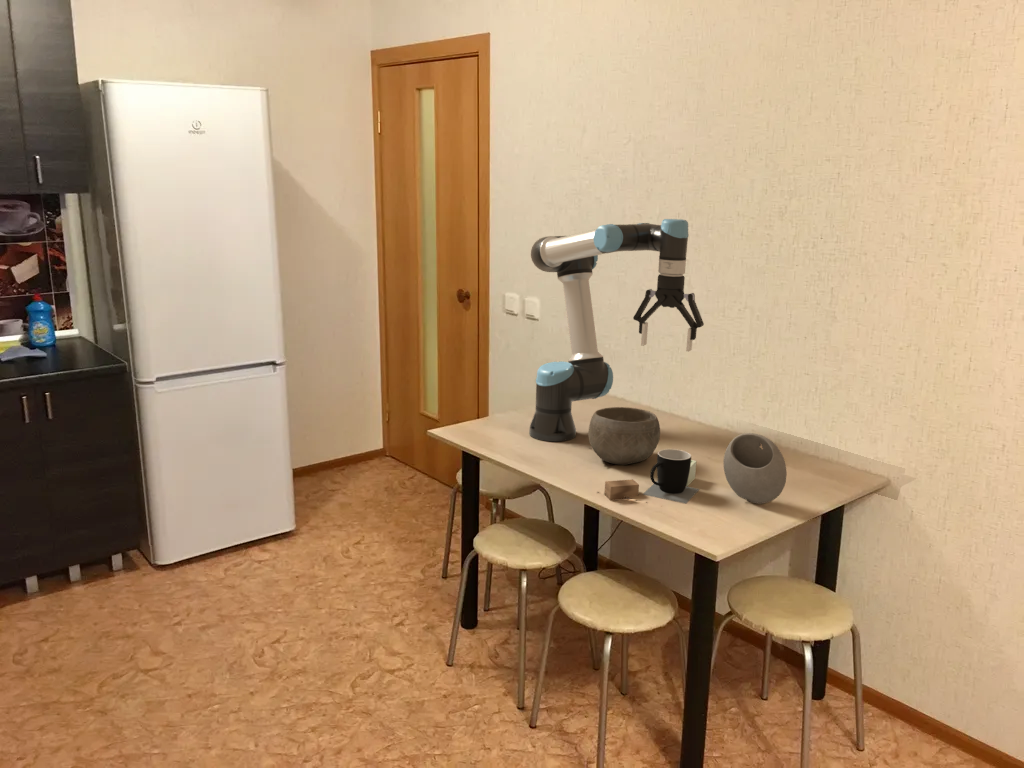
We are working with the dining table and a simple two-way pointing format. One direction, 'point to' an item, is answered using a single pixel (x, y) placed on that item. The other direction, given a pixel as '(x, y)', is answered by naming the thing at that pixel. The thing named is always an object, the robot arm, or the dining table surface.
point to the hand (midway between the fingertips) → (666, 347)
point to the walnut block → (621, 489)
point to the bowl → (623, 434)
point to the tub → (691, 472)
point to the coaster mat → (679, 497)
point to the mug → (672, 470)
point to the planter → (755, 468)
